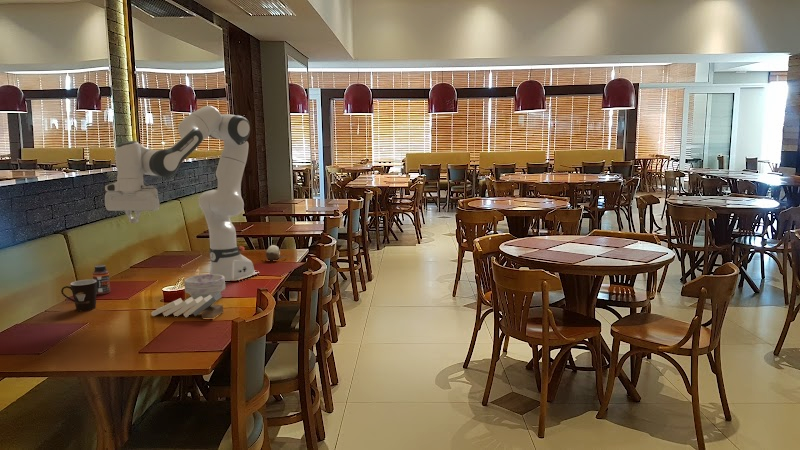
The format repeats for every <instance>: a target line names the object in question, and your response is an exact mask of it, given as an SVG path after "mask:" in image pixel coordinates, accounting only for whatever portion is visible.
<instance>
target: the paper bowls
mask: <svg viewBox="0 0 800 450" xmlns="http://www.w3.org/2000/svg"><path fill="white" fill-rule="evenodd" d="M183 283H184V293H186V294H189V295H190V297H192V298H193V299H194V300H195V299H197V298H198V297H200V296H202V297H203V299H204V298H205V297H207V296H209V295H211V296H212V297H214V296H216V295H217V294H219V293H220V294H222V292H224V291H225V290H226V282H225V277H224V276H223V275H217V274H210V273H209V274H198V275H193V276H190V277H186V278H184V281H183Z"/></svg>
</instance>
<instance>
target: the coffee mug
mask: <svg viewBox="0 0 800 450" xmlns="http://www.w3.org/2000/svg"><path fill="white" fill-rule="evenodd" d="M96 285H97V281H96V280H93V279H80V280H75V281H72V282H70V286H67V285H66V286H63V287H62V288H61V294H62V296H63V297H64V298H66V299H68V300H70V301H71V302H74V305H75V310H76V311H78V312H86V311H88V312H89V311H92V310H94V309H96V308H97V294H96ZM66 288H67V289H69V290H70V291H71V293H72V297H73V298H71V297H70V296H67V295H66V294H65V293H64V289H66Z"/></svg>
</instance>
